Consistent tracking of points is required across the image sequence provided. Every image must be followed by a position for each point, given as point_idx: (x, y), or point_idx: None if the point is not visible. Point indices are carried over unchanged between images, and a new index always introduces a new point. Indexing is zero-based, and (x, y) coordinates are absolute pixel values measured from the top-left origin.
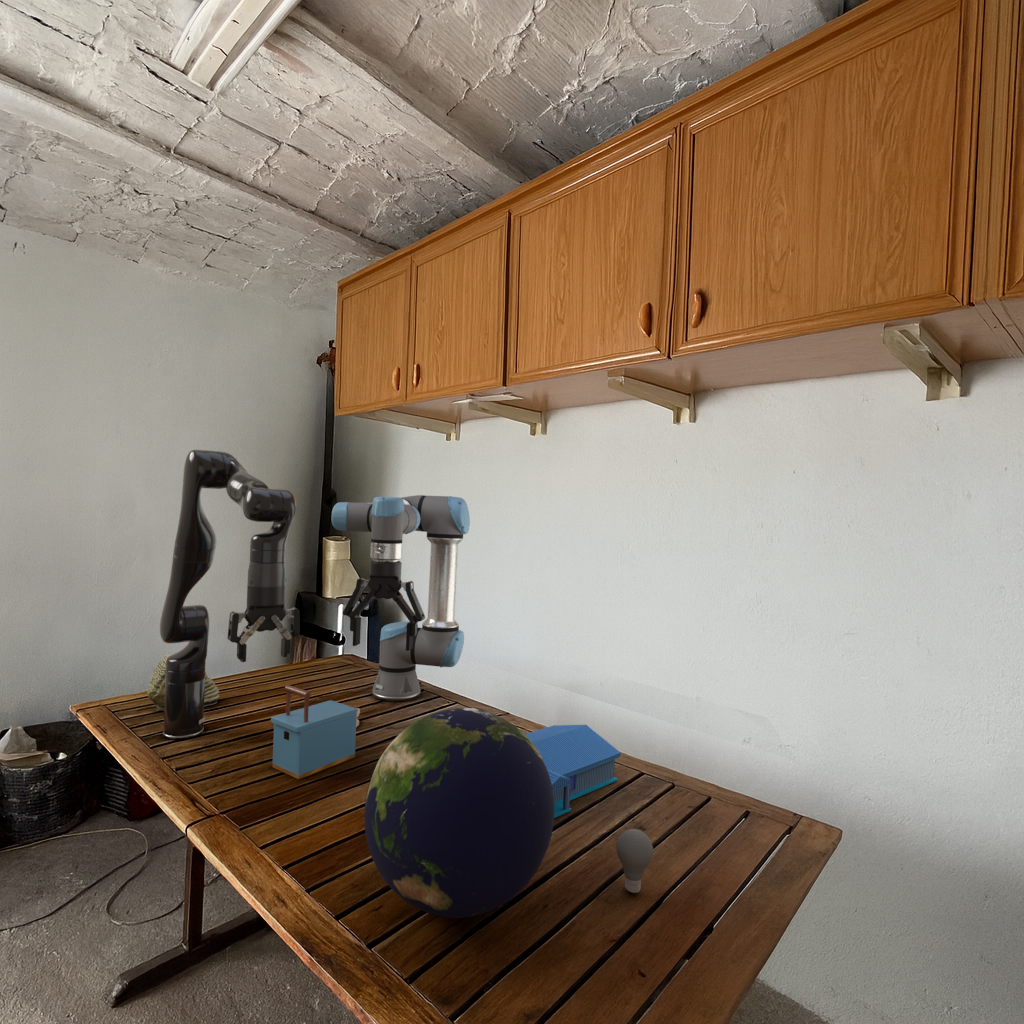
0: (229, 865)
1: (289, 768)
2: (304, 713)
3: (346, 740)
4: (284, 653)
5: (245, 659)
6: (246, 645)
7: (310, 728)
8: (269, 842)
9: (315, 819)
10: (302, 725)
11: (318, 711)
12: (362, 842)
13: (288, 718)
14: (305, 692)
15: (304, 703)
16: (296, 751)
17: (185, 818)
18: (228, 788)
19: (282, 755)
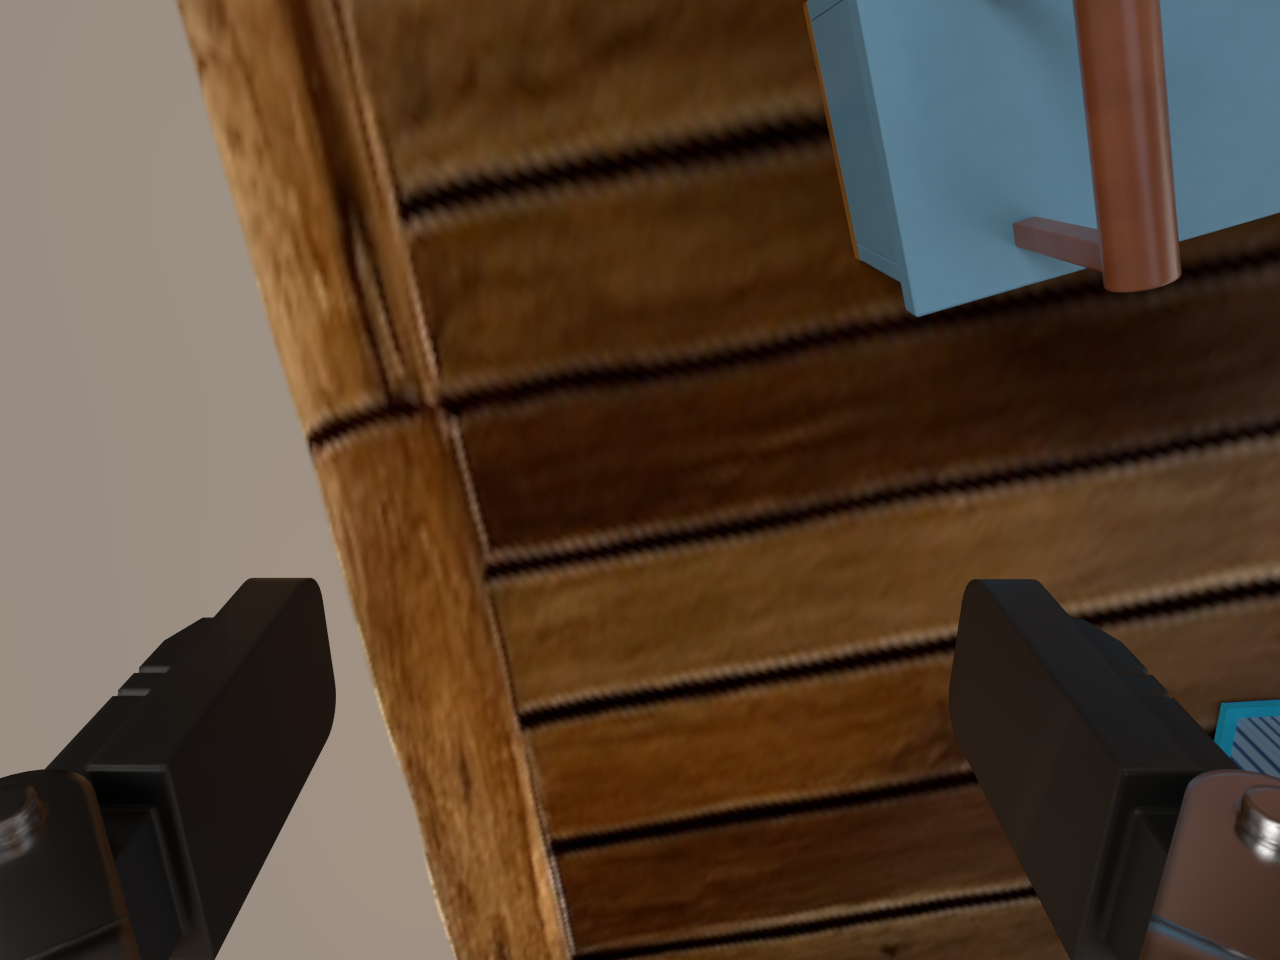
0: (410, 761)
1: (846, 175)
2: (1041, 239)
3: None
4: (971, 766)
5: (315, 745)
6: (219, 945)
7: None
8: (556, 705)
9: (754, 647)
10: (967, 294)
11: (1245, 28)
12: (817, 848)
13: (954, 74)
14: (1133, 275)
15: (1081, 241)
16: (887, 246)
17: (301, 373)
18: (520, 163)
19: (843, 101)
